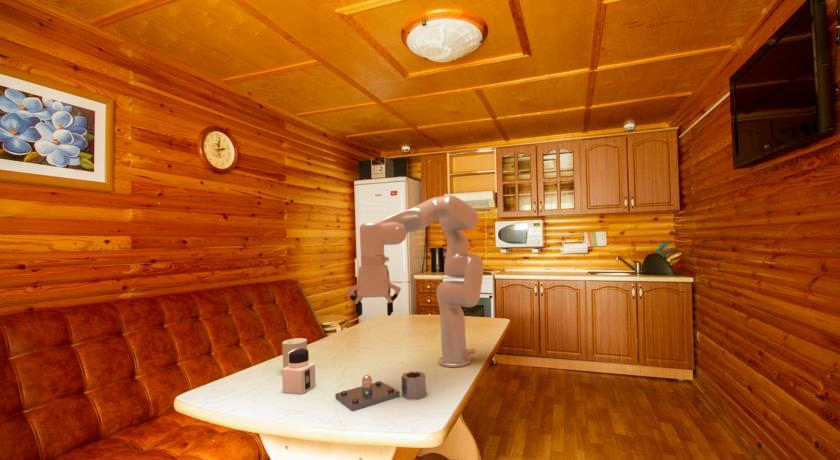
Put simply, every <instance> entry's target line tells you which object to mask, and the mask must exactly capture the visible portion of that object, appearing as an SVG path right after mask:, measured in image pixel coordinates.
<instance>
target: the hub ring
mask: <svg viewBox="0 0 840 460" xmlns="http://www.w3.org/2000/svg"><path fill="white" fill-rule="evenodd" d="M400 378H401V396H402V397H403V398H404V399H406V400H419V399H422V398H425V397H426V394H427V383H426V382H427V381H426V373H424V372H422V371H413V370H412V371H407V372H404V373H402V375H401V377H400Z"/></svg>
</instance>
